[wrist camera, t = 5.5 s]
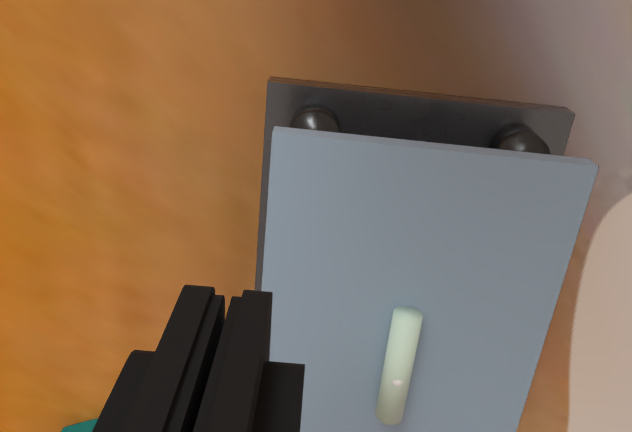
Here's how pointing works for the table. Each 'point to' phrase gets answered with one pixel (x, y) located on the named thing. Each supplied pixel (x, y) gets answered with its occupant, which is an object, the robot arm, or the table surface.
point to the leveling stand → (406, 122)
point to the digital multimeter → (81, 426)
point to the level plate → (415, 276)
